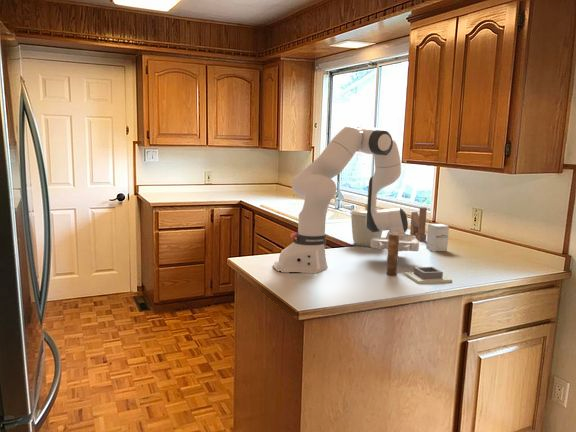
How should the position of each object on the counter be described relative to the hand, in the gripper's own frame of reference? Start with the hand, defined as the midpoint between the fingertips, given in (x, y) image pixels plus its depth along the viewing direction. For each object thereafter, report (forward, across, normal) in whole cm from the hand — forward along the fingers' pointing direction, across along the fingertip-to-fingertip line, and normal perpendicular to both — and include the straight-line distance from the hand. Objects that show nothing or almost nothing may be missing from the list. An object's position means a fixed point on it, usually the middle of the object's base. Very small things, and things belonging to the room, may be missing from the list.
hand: (393, 248), depth 201 cm
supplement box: (-44, +19, +9) cm, 49 cm away
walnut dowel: (+9, 0, +9) cm, 12 cm away
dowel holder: (+10, +14, +9) cm, 19 cm away
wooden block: (-67, +10, +9) cm, 69 cm away
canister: (-44, -15, +9) cm, 47 cm away
